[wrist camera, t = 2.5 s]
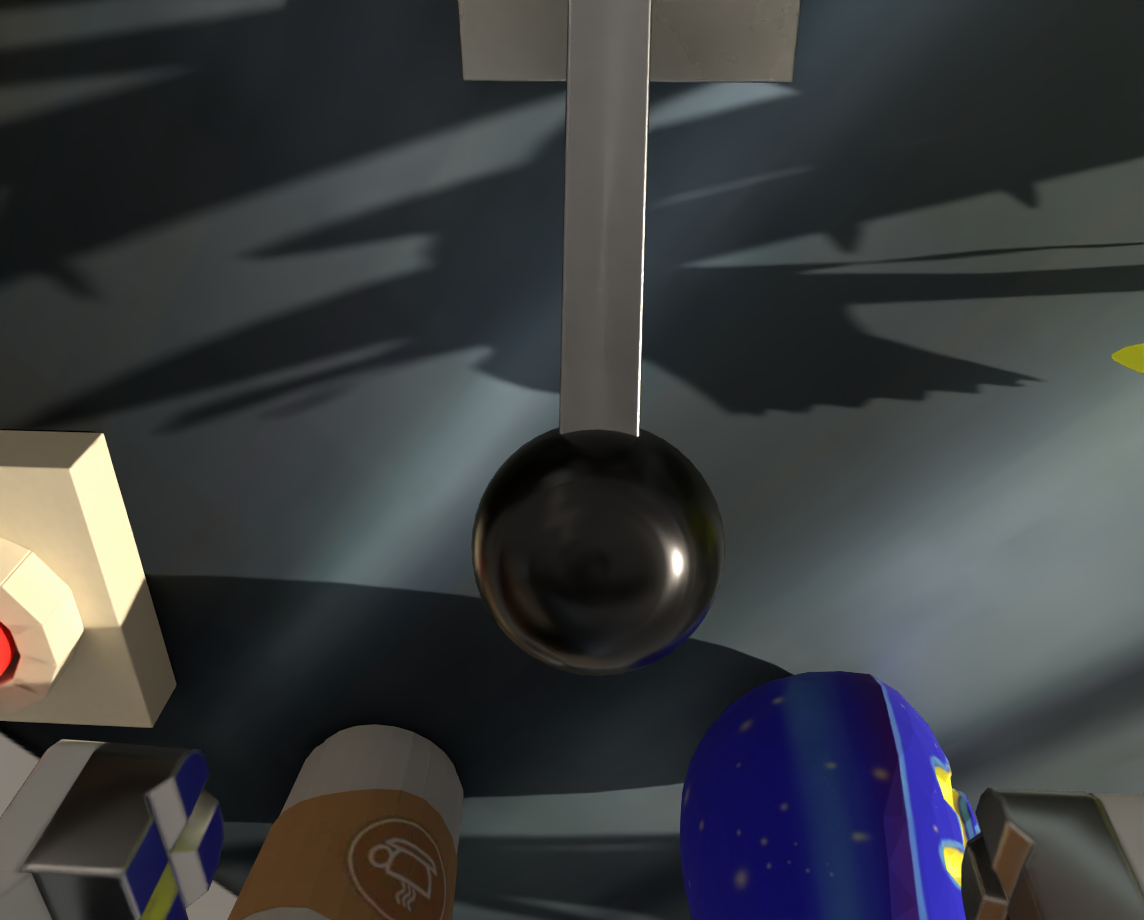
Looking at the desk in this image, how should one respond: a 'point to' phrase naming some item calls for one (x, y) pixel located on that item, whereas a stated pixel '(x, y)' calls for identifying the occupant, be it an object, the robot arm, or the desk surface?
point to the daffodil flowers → (1131, 357)
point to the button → (6, 647)
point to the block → (74, 589)
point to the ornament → (822, 808)
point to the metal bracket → (678, 40)
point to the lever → (600, 410)
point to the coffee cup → (362, 834)
